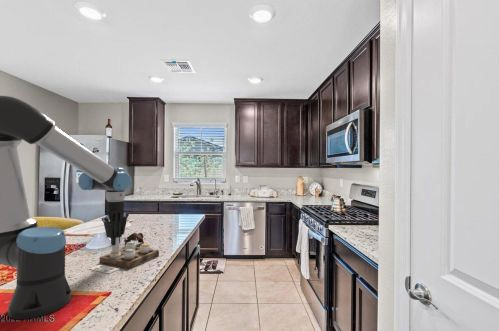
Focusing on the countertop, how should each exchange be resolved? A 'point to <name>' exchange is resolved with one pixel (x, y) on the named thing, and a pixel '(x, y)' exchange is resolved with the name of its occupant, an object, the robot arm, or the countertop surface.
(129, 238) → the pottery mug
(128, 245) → the button outer left
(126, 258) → the button inner right
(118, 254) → the button inner left
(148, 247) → the button outer right
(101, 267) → the pattern card
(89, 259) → the countertop surface
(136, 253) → the button board
